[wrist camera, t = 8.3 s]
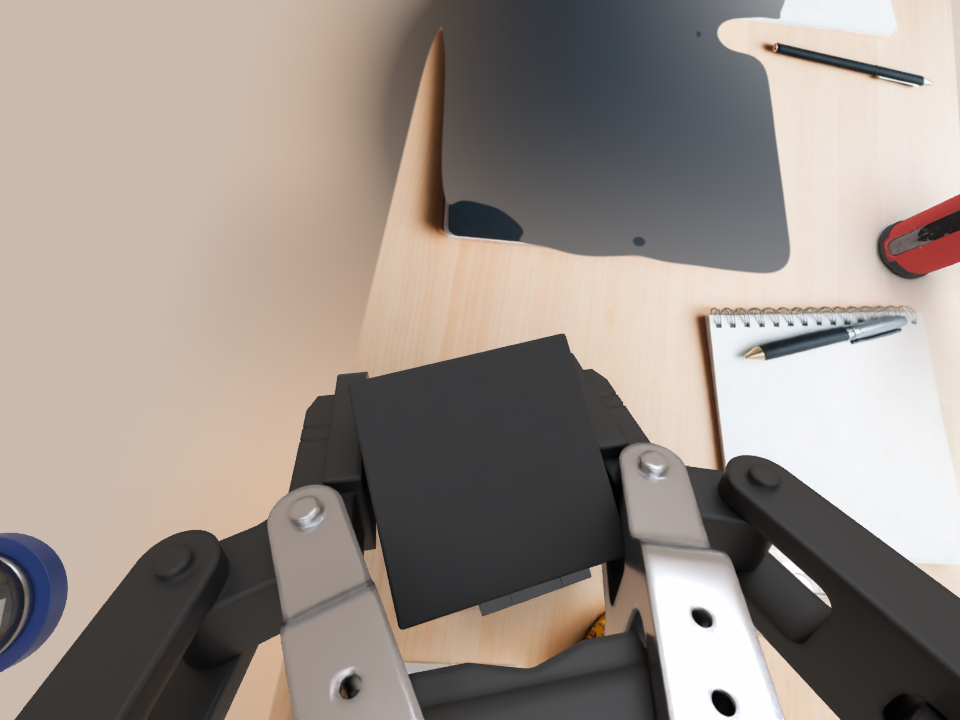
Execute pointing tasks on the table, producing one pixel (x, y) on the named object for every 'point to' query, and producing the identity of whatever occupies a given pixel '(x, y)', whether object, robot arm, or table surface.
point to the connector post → (483, 477)
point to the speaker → (924, 241)
